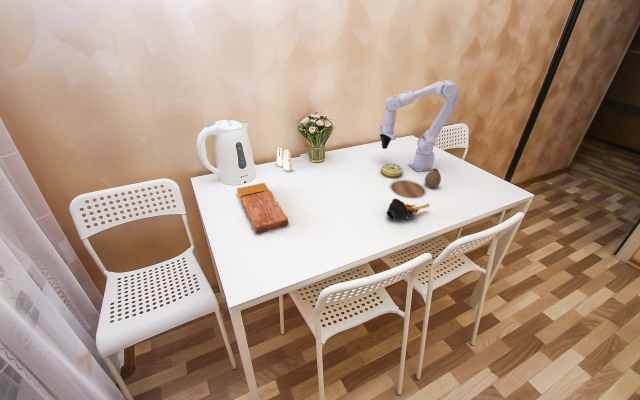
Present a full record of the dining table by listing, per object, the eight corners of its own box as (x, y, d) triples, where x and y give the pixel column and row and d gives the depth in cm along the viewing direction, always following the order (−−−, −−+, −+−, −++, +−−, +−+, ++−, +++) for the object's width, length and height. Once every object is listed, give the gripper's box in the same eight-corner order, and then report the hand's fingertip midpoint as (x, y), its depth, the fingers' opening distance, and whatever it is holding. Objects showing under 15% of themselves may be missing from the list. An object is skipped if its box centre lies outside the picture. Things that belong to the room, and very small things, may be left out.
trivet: (412, 179, 143) (412, 179, 143) (430, 195, 131) (431, 195, 131) (385, 183, 139) (385, 183, 139) (402, 200, 127) (402, 199, 127)
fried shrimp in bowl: (378, 204, 116) (411, 181, 120) (388, 226, 120) (420, 203, 124) (393, 208, 107) (427, 184, 112) (403, 232, 111) (436, 207, 116)
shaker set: (295, 171, 146) (294, 151, 140) (288, 173, 144) (287, 153, 138) (282, 162, 154) (281, 143, 148) (275, 164, 152) (274, 144, 145)
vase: (436, 191, 134) (441, 174, 129) (421, 186, 137) (426, 170, 132) (440, 185, 139) (445, 168, 134) (425, 180, 142) (430, 164, 137)
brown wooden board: (265, 188, 132) (265, 181, 130) (289, 226, 110) (289, 219, 108) (237, 194, 127) (236, 187, 125) (255, 235, 105) (254, 228, 103)
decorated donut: (405, 173, 148) (407, 166, 146) (394, 180, 141) (396, 174, 139) (388, 166, 154) (389, 160, 152) (377, 173, 147) (378, 166, 145)
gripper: (374, 118, 147) (371, 143, 155) (388, 128, 136) (384, 154, 144) (387, 117, 149) (383, 142, 157) (401, 127, 138) (396, 153, 146)
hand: (384, 148), depth 150 cm, fingers closed
